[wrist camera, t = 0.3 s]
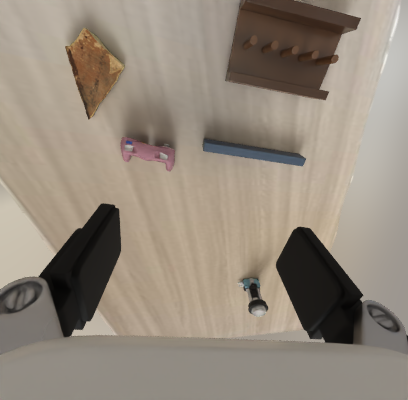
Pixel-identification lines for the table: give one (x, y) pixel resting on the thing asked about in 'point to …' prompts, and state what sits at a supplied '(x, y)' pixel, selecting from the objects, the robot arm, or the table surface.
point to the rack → (286, 45)
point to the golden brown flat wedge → (93, 69)
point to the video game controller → (147, 152)
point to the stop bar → (253, 152)
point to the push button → (254, 297)
